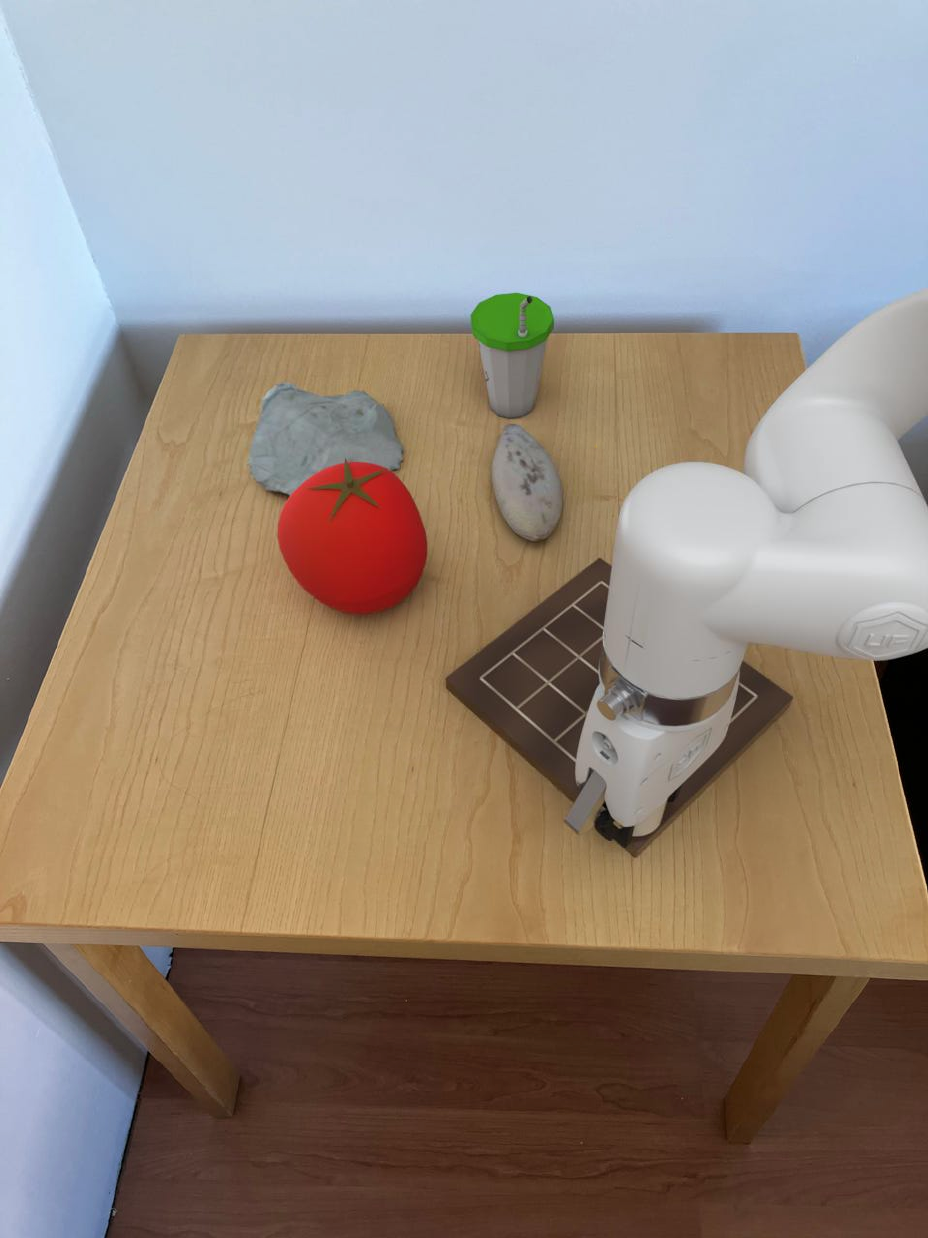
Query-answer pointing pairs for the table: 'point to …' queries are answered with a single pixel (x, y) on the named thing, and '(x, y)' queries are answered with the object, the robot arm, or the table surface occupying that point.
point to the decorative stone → (526, 484)
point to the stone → (318, 436)
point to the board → (584, 692)
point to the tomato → (353, 538)
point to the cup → (512, 349)
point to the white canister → (650, 821)
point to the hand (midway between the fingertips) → (634, 807)
